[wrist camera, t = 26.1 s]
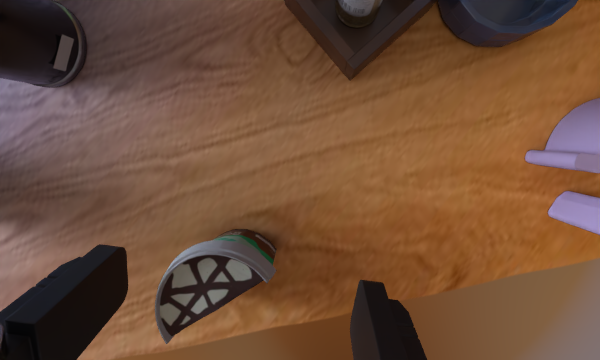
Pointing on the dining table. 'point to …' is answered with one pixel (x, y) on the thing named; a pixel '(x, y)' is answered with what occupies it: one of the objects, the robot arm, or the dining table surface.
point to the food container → (211, 278)
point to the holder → (356, 29)
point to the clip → (574, 163)
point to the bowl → (500, 18)
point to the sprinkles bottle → (357, 11)
